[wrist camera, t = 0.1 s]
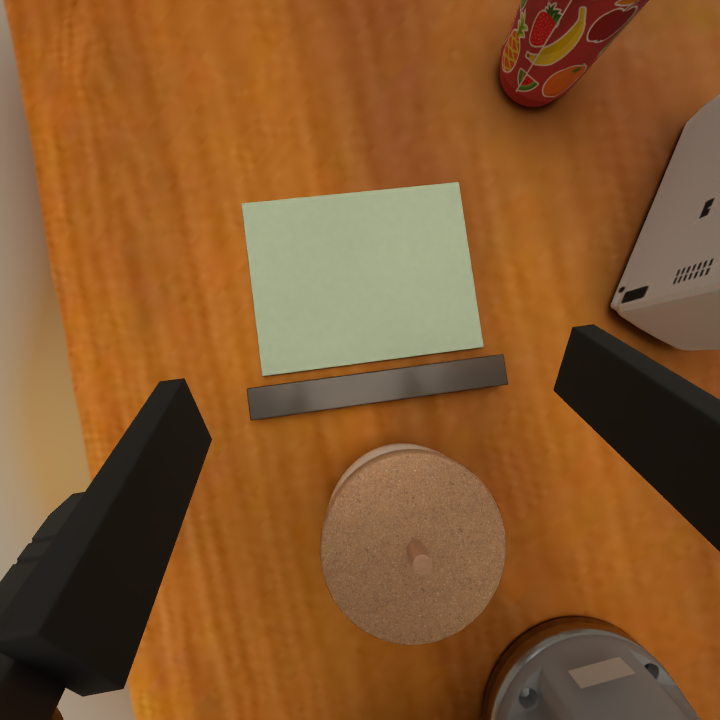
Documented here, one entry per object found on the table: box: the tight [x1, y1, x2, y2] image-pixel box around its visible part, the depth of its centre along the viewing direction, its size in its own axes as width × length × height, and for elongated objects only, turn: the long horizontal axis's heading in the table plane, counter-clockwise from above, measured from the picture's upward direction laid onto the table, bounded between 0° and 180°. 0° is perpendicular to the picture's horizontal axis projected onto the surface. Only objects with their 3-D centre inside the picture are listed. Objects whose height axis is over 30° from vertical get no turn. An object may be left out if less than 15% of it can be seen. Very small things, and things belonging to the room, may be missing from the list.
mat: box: [242, 182, 483, 376], centre depth 27 cm, size 14×18×1 cm
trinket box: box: [320, 443, 506, 645], centre depth 21 cm, size 11×11×9 cm
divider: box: [247, 354, 508, 420], centre depth 26 cm, size 2×20×2 cm, turn 98°
